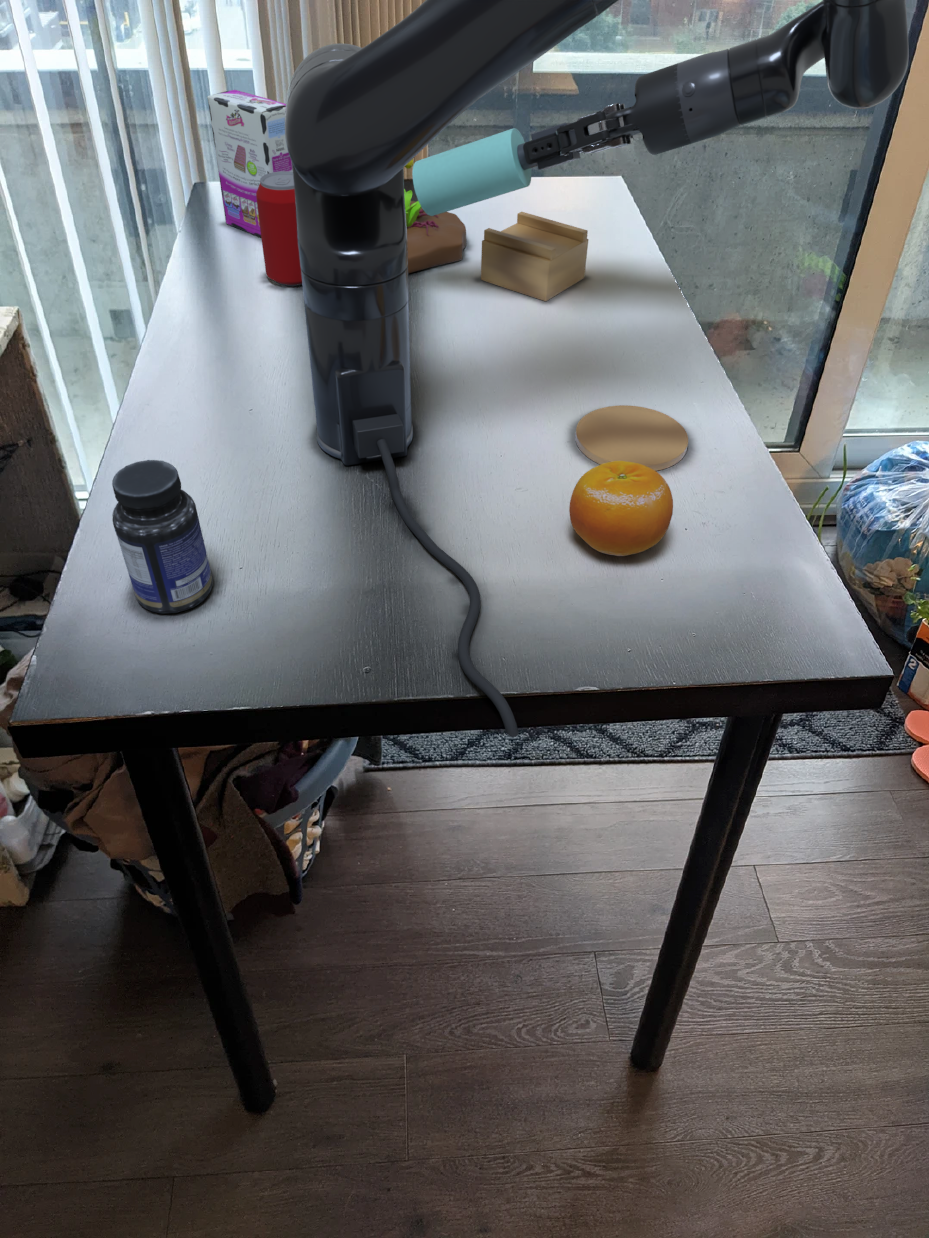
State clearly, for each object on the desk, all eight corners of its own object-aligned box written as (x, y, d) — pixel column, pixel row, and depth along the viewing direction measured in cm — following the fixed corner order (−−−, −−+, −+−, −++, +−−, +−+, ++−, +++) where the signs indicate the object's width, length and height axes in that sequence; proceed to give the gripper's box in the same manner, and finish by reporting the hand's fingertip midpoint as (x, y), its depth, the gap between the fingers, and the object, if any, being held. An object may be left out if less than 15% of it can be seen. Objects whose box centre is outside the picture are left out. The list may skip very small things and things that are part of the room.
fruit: (623, 458, 85) (627, 421, 77) (689, 526, 83) (699, 495, 75) (551, 518, 85) (548, 487, 77) (615, 588, 83) (618, 563, 75)
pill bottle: (215, 564, 79) (191, 451, 71) (212, 613, 74) (186, 498, 67) (139, 570, 78) (107, 456, 71) (131, 620, 74) (95, 505, 66)
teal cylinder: (586, 169, 105) (574, 110, 103) (572, 171, 100) (559, 109, 98) (441, 214, 112) (427, 160, 110) (421, 218, 107) (406, 161, 105)
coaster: (707, 462, 91) (708, 455, 91) (602, 480, 89) (603, 473, 88) (656, 405, 99) (657, 398, 98) (558, 421, 96) (559, 414, 96)
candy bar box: (304, 235, 131) (292, 104, 120) (277, 245, 128) (261, 112, 117) (251, 214, 136) (235, 87, 125) (224, 224, 133) (204, 94, 122)
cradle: (584, 278, 122) (589, 229, 118) (545, 301, 117) (549, 251, 112) (520, 258, 126) (523, 210, 122) (480, 280, 121) (481, 231, 117)
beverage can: (325, 268, 123) (317, 170, 115) (313, 290, 118) (304, 190, 110) (273, 265, 123) (262, 168, 115) (260, 287, 118) (247, 187, 110)
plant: (489, 262, 125) (492, 173, 117) (347, 284, 119) (340, 191, 112) (434, 210, 138) (433, 127, 131) (303, 227, 133) (295, 141, 125)
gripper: (685, 143, 91) (519, 194, 99) (704, 142, 103) (555, 188, 111) (670, 57, 89) (501, 116, 96) (692, 66, 101) (540, 118, 108)
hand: (531, 154), depth 103 cm, fingers closed on teal cylinder, 3 cm apart
